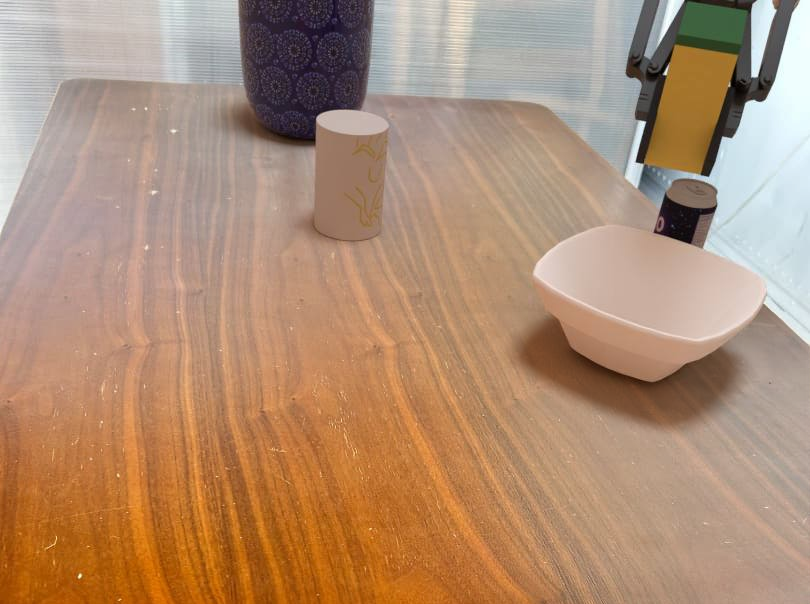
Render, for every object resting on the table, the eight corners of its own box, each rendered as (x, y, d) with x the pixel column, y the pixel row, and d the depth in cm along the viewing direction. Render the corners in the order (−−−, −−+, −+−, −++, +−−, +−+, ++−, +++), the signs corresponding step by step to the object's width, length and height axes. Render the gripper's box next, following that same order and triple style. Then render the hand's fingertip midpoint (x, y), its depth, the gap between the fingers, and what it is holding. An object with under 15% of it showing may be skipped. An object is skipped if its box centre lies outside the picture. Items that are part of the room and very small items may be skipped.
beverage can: (669, 277, 105) (702, 175, 96) (696, 300, 101) (732, 196, 93) (628, 281, 103) (658, 177, 95) (654, 304, 99) (687, 199, 91)
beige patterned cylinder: (356, 247, 103) (362, 140, 95) (300, 226, 106) (301, 121, 97) (393, 225, 108) (402, 122, 100) (339, 206, 111) (343, 104, 103)
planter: (310, 98, 140) (313, -56, 126) (392, 134, 132) (404, -26, 118) (216, 118, 130) (208, -47, 116) (298, 158, 121) (299, -15, 107)
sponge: (708, 137, 81) (748, 10, 73) (700, 175, 77) (741, 44, 69) (654, 128, 82) (687, 0, 74) (643, 164, 78) (677, 33, 70)
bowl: (759, 354, 93) (790, 279, 87) (680, 439, 80) (711, 358, 74) (587, 286, 101) (605, 213, 95) (491, 353, 88) (505, 273, 82)
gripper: (836, -47, 78) (769, 203, 78) (635, -78, 81) (569, 162, 80) (869, -114, 71) (794, 161, 70) (646, -146, 74) (573, 118, 73)
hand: (674, 161), depth 75 cm, fingers closed on sponge, 5 cm apart
